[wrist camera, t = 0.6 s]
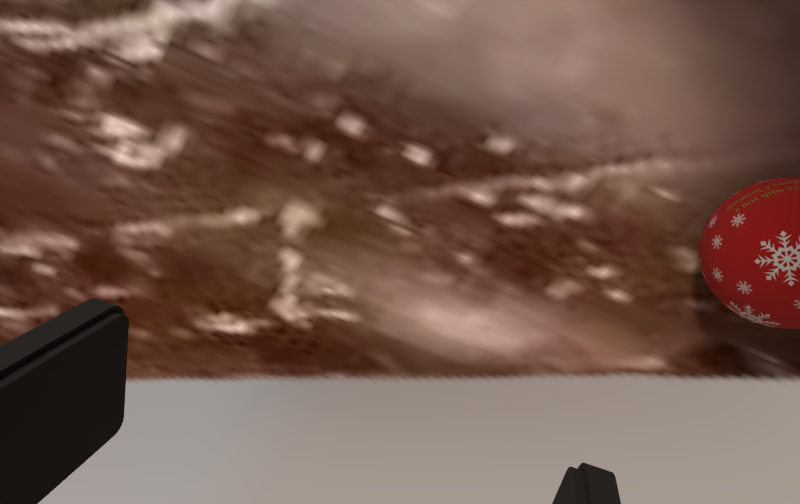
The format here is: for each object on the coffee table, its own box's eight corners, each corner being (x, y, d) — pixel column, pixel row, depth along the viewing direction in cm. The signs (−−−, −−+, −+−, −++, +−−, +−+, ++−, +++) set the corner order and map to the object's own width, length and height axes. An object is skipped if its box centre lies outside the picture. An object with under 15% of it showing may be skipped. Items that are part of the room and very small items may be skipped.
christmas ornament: (836, 155, 33) (954, 189, 24) (831, 287, 35) (938, 365, 26) (680, 176, 35) (732, 215, 26) (685, 299, 38) (735, 374, 28)
